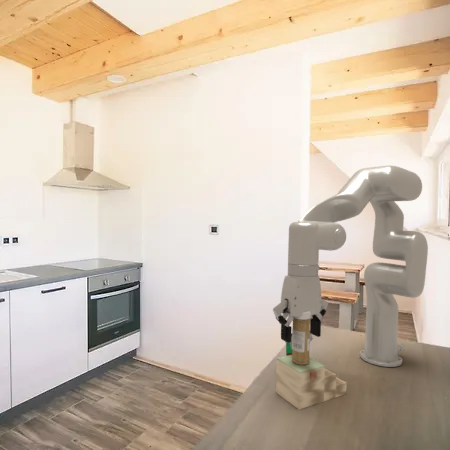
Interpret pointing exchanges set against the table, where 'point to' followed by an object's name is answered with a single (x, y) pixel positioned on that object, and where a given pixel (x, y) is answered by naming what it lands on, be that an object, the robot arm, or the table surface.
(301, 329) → the spice jar
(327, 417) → the table surface
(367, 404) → the table surface
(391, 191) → the robot arm
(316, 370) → the step stand
